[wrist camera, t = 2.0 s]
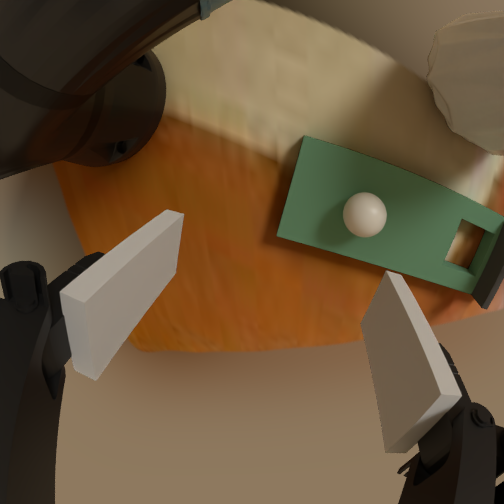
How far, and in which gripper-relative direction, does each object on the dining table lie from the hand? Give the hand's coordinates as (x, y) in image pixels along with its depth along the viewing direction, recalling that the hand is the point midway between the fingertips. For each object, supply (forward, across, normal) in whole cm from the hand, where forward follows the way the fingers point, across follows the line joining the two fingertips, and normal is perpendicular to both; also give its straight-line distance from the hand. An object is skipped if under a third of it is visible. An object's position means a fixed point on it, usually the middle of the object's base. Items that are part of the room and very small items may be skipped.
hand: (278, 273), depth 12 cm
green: (+19, +14, 0) cm, 24 cm away
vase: (+20, +16, +17) cm, 30 cm away
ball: (+17, +7, 0) cm, 19 cm away
